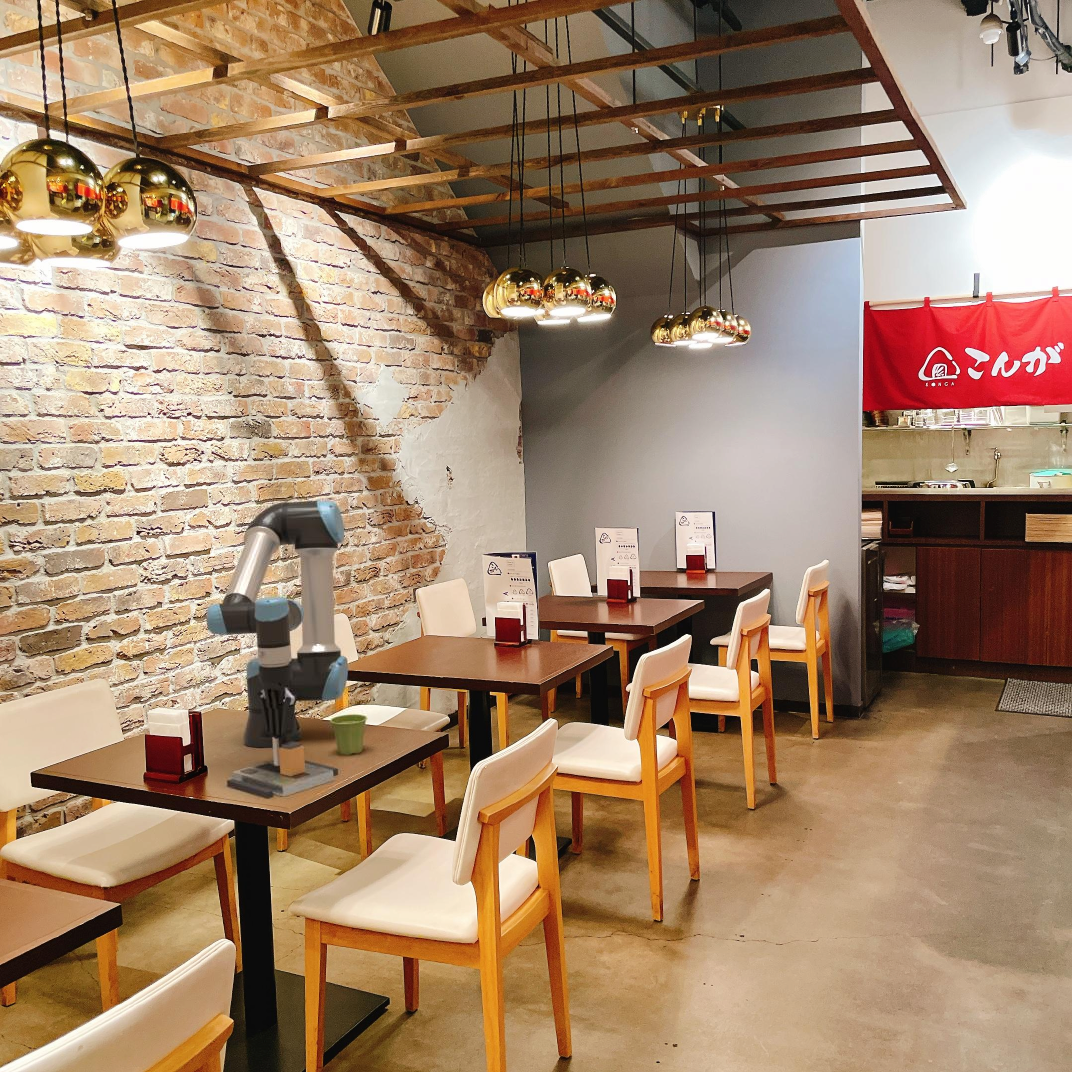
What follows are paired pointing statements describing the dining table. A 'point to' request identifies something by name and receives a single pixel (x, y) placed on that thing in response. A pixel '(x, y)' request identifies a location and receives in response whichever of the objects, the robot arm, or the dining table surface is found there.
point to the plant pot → (349, 733)
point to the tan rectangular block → (291, 759)
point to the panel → (283, 778)
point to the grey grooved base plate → (262, 791)
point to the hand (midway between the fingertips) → (280, 763)
